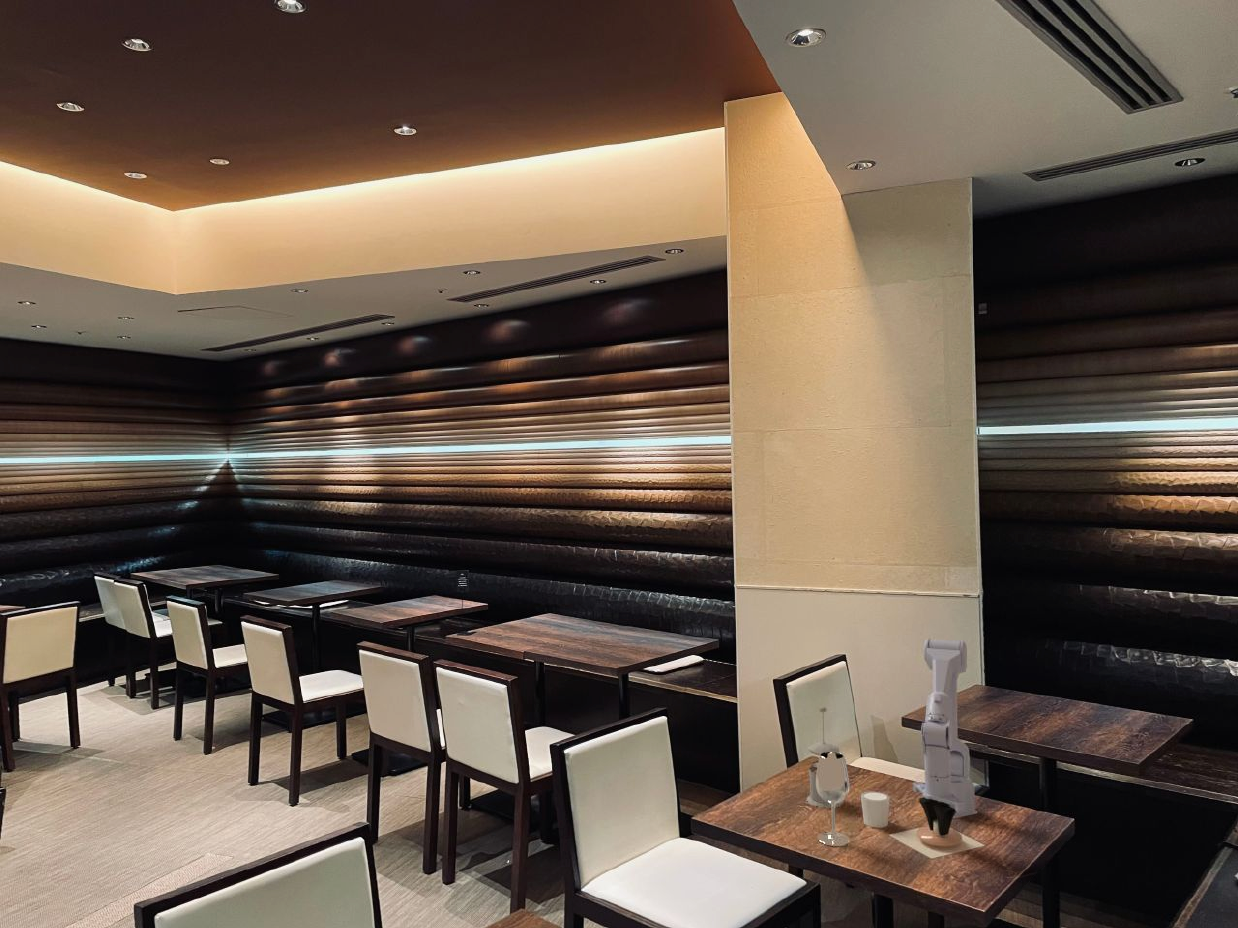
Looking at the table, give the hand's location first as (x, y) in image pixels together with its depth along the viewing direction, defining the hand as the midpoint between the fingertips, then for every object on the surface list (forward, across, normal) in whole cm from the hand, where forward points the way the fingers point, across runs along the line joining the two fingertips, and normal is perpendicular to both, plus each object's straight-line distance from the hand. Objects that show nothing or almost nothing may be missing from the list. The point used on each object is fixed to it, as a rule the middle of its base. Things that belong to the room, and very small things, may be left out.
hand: (939, 831), depth 197 cm
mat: (+3, -1, 0) cm, 3 cm away
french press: (+3, -33, -7) cm, 34 cm away
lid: (+1, 0, 0) cm, 1 cm away
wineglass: (+3, -12, -21) cm, 24 cm away
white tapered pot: (+3, -15, -6) cm, 16 cm away
